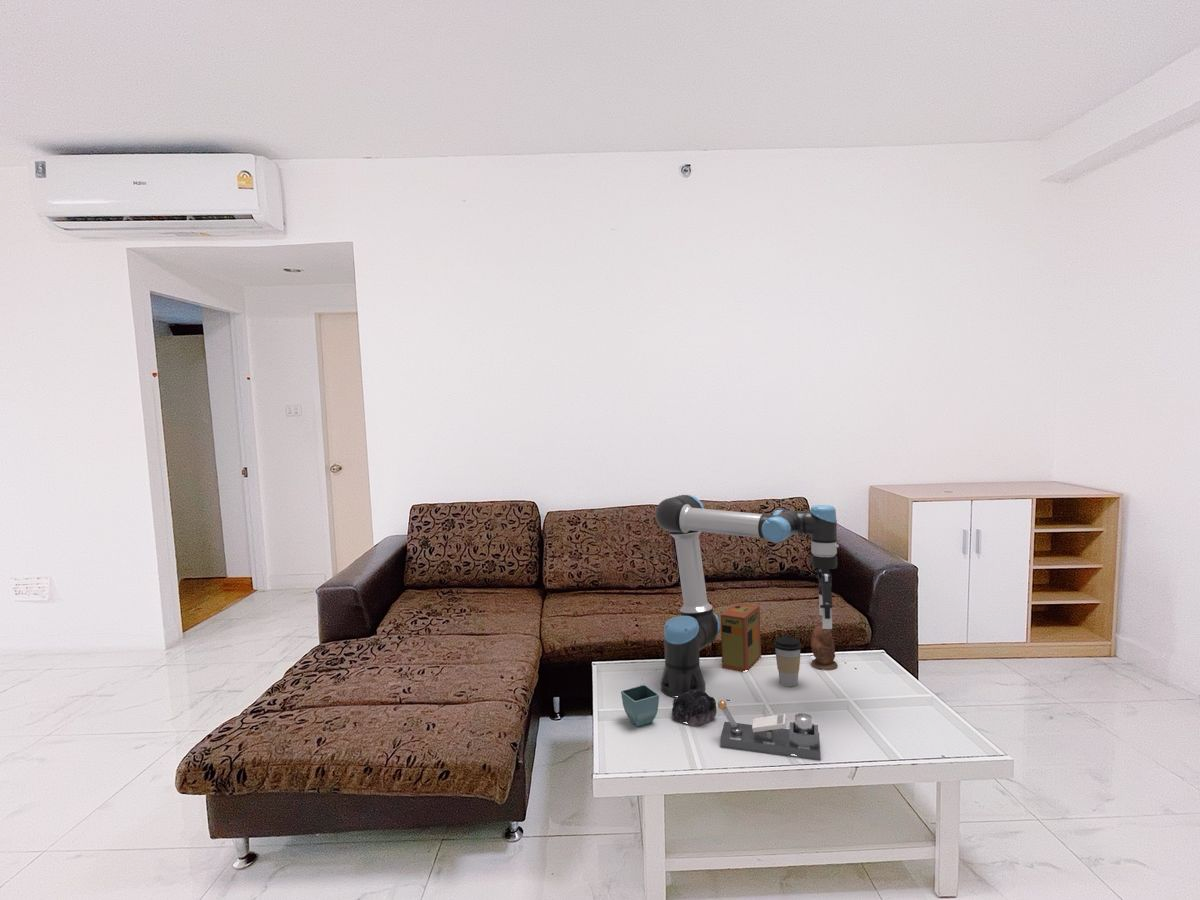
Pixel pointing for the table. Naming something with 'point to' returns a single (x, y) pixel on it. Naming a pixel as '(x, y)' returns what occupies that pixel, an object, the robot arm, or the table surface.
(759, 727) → the plate
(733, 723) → the toggle
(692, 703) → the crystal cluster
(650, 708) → the flower pot
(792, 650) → the coffee cup
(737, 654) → the box
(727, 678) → the table surface
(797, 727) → the button
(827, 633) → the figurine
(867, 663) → the table surface
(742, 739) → the panel
